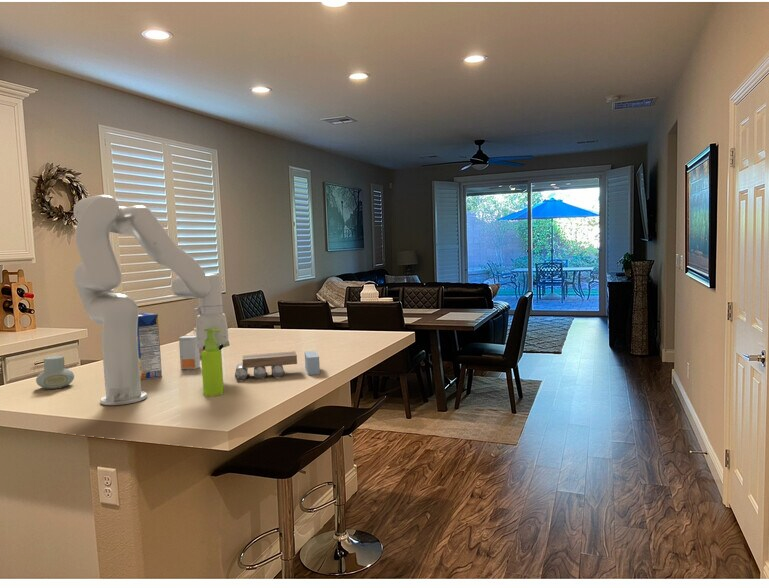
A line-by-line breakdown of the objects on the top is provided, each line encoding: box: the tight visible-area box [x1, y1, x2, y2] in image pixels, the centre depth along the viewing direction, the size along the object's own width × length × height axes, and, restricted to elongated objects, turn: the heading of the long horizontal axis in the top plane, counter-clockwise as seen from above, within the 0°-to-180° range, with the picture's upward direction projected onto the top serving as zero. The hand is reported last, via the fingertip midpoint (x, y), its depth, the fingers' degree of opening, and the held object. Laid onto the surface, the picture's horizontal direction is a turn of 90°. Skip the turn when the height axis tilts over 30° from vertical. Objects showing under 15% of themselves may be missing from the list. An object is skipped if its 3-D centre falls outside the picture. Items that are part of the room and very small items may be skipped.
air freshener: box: [35, 355, 75, 390], centre depth 185 cm, size 11×8×10 cm
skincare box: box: [178, 335, 201, 370], centre depth 209 cm, size 6×4×12 cm
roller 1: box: [234, 362, 249, 381], centre depth 191 cm, size 11×4×4 cm
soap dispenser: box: [200, 328, 225, 397], centre depth 168 cm, size 6×7×20 cm
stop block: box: [304, 350, 321, 376], centre depth 196 cm, size 12×4×6 cm, turn 13°
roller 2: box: [270, 365, 285, 378], centre depth 194 cm, size 11×4×4 cm
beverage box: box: [137, 312, 163, 380], centre depth 198 cm, size 7×11×22 cm, turn 42°
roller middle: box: [253, 366, 267, 380], centre depth 192 cm, size 11×4×4 cm
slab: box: [242, 351, 298, 369], centre depth 193 cm, size 8×18×3 cm, turn 103°
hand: (214, 364), depth 189 cm, fingers closed
